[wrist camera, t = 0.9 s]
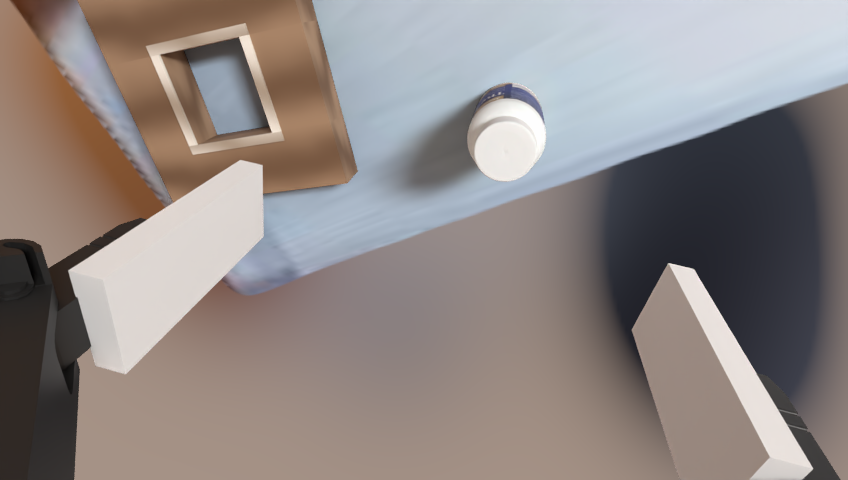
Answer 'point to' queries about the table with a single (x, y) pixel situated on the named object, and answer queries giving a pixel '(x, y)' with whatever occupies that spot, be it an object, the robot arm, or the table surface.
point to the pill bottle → (507, 132)
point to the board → (184, 106)
